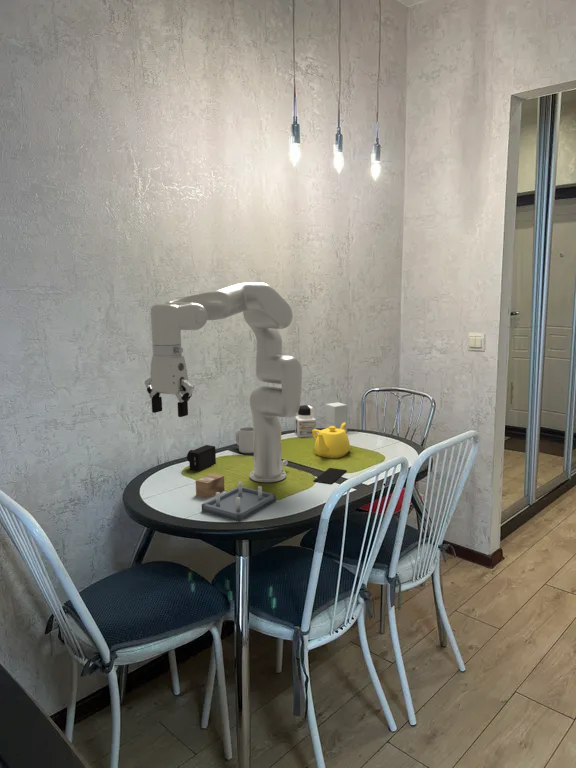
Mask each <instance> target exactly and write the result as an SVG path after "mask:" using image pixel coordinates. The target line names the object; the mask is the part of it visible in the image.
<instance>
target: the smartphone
mask: <svg viewBox="0 0 576 768" xmlns="http://www.w3.org/2000/svg"><path fill="white" fill-rule="evenodd" d="M347 472H348V471H347V469H341V468H340V469H339V468H333V467H329V468H327V469H326V470H325V471H323V472H322V473H321V474H320V475H318V476H317V477H316V478H314V479H313V480H312V481H313V482H314V483H318V484H319V483H320V484H323V485H333V484H334V483H336V482H337V481H338V480H339V479H340V478H342V477H343V476H344V475H345V474H346V473H347Z"/></svg>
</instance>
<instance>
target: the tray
mask: <svg viewBox="0 0 576 768" xmlns="http://www.w3.org/2000/svg"><path fill="white" fill-rule="evenodd" d="M237 485H238V486H237V487H234V488H232V489H230V490H229V491H226V492H224V493H222V494H221V492H216V495H215V497H214V498H212V499H209V500H208V501H206V502H203V503H202V504H201V512H204V513H206V514H209V515H214V516H216V517H220V518H223V519H228V520H231V521H235V522H238V523H240V522H242V521H245V519H247V518H249V517H251V516H252V515H254V514H256V513H258V512H260V511H261V510H263V509H264V508H267V507H268V506H270V505H272V504H274V503H275V502H276V500H277V497H276V494H275V493H271V492H270V493H269V492H267V491H263V486H262V485H259V486H257V489H254V488H250V487H245V486H243V482H242V481H238V482H237Z"/></svg>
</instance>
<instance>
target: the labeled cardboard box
mask: <svg viewBox="0 0 576 768" xmlns="http://www.w3.org/2000/svg"><path fill="white" fill-rule="evenodd" d="M224 491H225V476H224V475H222V474H217V473H213V472H211V473H209V474H207V475H204V476H202V477H200V478H198V479H195V495H196V496H199V497H201V498H202V497H203V498H207V499H209V498H211V497H213V496H216V492H220V493H222V492H224Z"/></svg>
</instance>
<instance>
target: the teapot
mask: <svg viewBox="0 0 576 768" xmlns="http://www.w3.org/2000/svg"><path fill="white" fill-rule="evenodd" d="M345 424H346V423H345V422H344V423H342V425H341V427H340V429H337V428H336V427H335V426H330V427H329V428H326V427H325V428H323V429H321V430H320V429H317V428H316V429H314V430H312V434H313V436H312V437H313V438H314V439H313V440H315V442H314V453H315V454H316V455H317V456H319V457H324V458H328V459H329V458H330V459H338V458H342V457H344V456H346V455H347V454H348V453H349V451H350V448H351V447H350V446H351V445H350V439H349V436H348V434H347V432H346V431H345Z"/></svg>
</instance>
